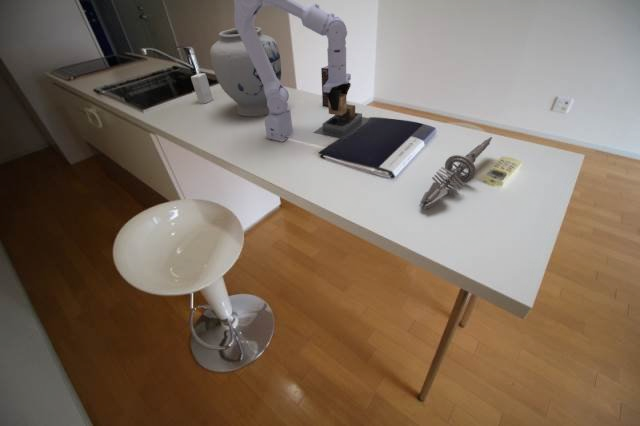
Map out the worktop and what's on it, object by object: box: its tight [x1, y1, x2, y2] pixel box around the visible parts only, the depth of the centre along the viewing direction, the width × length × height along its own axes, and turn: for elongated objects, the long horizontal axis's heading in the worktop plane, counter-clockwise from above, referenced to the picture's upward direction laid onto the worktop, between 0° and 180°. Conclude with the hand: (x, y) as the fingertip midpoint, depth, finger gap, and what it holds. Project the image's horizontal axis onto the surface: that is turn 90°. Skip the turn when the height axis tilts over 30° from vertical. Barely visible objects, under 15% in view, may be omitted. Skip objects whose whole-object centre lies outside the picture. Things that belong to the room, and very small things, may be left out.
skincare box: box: [190, 73, 214, 104], centre depth 135 cm, size 6×4×12 cm
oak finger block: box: [327, 94, 347, 116], centre depth 98 cm, size 4×5×6 cm
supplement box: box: [320, 65, 329, 108], centre depth 119 cm, size 9×5×16 cm, turn 143°
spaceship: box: [418, 136, 493, 211], centre depth 73 cm, size 8×35×8 cm
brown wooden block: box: [339, 103, 356, 120], centre depth 105 cm, size 4×5×6 cm
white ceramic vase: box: [209, 26, 282, 118], centre depth 117 cm, size 27×27×30 cm
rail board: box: [313, 112, 371, 140], centre depth 105 cm, size 20×13×4 cm, turn 147°
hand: (338, 107), depth 99 cm, fingers closed on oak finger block, 4 cm apart
